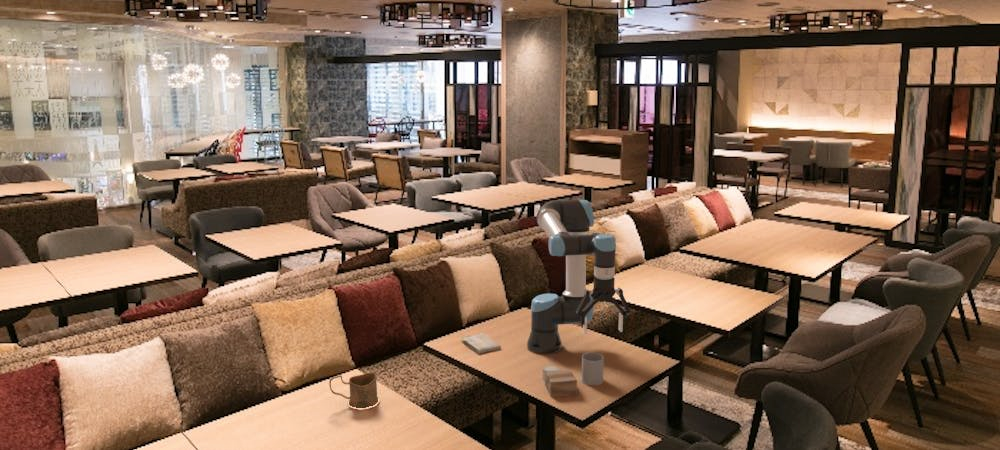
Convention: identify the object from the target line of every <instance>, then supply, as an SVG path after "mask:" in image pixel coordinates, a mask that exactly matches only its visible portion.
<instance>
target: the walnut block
mask: <svg viewBox="0 0 1000 450" xmlns="http://www.w3.org/2000/svg"><path fill="white" fill-rule="evenodd" d="M544 386H545V388H546V390H548V391H547V392H548V395H549V396H550V397H553V398H554V397H563V396H565V395H566V396H576V395H578V380H577V378H576V375H574V374H573V372H572V370H571V369H570V368H569V369H558V370H554V371H545V381H544Z"/></svg>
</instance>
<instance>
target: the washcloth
mask: <svg viewBox="0 0 1000 450" xmlns="http://www.w3.org/2000/svg"><path fill="white" fill-rule="evenodd" d="M461 342H462V344H464V345H465V346H466V347H467V348H469V349H470V350H471V351H473V352H474V353H475V354H477V355H480V354H485V353H488V352H493V351H494V352H495V351H499V350H501V349H502V347H501V344H499V343H498V342H497V341H495V340H494V339H492V337H490V336H488V335H487V334H485V333H484V332H481V333H478V334H472V335H465V336H463V337H462V338H461Z"/></svg>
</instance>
